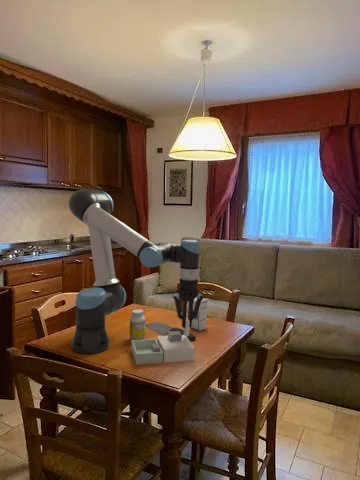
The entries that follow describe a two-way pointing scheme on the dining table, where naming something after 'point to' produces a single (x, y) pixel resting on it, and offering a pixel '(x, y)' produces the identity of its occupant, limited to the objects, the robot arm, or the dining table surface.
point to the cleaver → (167, 329)
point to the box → (145, 352)
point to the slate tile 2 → (174, 336)
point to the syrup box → (200, 316)
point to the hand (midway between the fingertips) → (186, 335)
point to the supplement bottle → (137, 325)
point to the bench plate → (176, 349)
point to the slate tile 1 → (155, 348)
